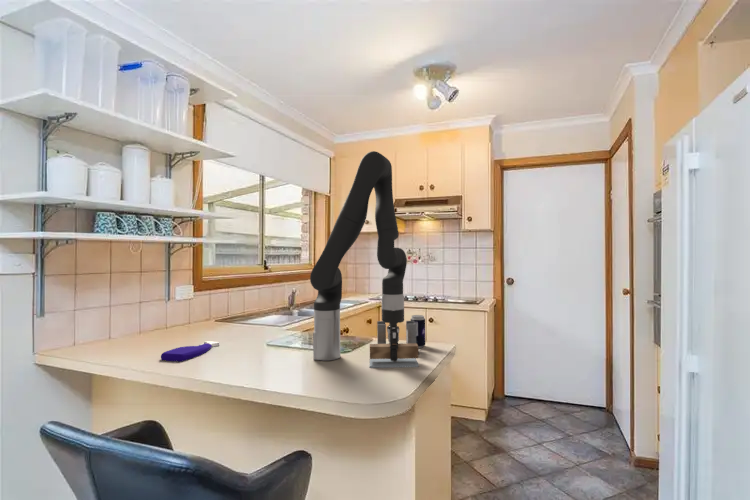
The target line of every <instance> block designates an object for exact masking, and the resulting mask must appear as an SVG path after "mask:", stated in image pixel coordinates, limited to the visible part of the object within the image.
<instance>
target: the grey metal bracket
mask: <svg viewBox="0 0 750 500" xmlns="http://www.w3.org/2000/svg"><path fill="white" fill-rule="evenodd" d="M376 324H377V325H376V327H377V328H376V329H377V330H376V331H377V332H376V334H377V335H376V336H377V341H376V342H377V343H376V344H387V324H386V323H385V322H383V321H382V320H377V321H376Z"/></svg>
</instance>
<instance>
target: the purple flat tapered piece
mask: <svg viewBox="0 0 750 500" xmlns="http://www.w3.org/2000/svg"><path fill="white" fill-rule="evenodd" d="M218 346H220V342H219V341H204V342H203V343H201V344H198V345H188V346H180V347H175V348H172V349H170V350H166V351H164V352H162V353H161V355H160V359H161V361H163V360H166V361H167V362H177V361H178V362H179V363H180V362H186V361H188V360H191V359H194V358H196V357H199V356H201V355H203V354H205V353H207V352H208V351H210V349H212V348H214V347H218ZM178 362H177V363H178Z"/></svg>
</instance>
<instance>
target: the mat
mask: <svg viewBox="0 0 750 500" xmlns="http://www.w3.org/2000/svg"><path fill="white" fill-rule="evenodd" d="M419 366H420V365H419V363H418V360H417V358H407V359H397V361H391V359H370V358H369V368H370V369H372V368H373V369H375V368H377V369H379V368H382V369H384V368H419Z"/></svg>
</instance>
